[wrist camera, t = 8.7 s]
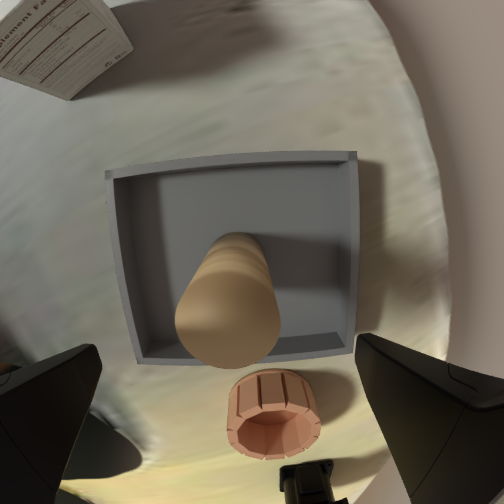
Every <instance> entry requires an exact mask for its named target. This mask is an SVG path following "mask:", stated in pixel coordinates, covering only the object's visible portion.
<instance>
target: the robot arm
mask: <svg viewBox="0 0 504 504" xmlns="http://www.w3.org/2000/svg"><path fill="white" fill-rule="evenodd" d="M355 363H356V366H357V369H358V372H359V375H360V378H361V381H362V385H363V388H364V391H365V394H366V397H367V399H368V402H369V404H370V406H371V408H372V411H373V413H374V415H375V417H376V419H377V422H378V424H379V426H380V429H381V431H382V433H383V435H384V438H385V440H386V442H387V445H388V447H389V449H390V452H391V454H392V456H393V459H394V461H395V463H396V466H397V468H398V471H399V473H400V475H401V478H402V480H403V483H404V485H405V488H406V490H407V493H408V496H409V498H411V499H410V501H411V504H504V379H502V378H498V377H494V376H489V375H485V374H481V373H478V372H475V371H471V370H468V369H465V368H462V367H459V366H456V365H453V364H451V363H448V364H447V362H445V361H442V360H440V359H437V358H434V357H431V356H429V355H426V354H423V353H421V352H418V351H415V350H413V349H410V348H408V347H405V346H402V345H400V344H397V343H394V342H392V341H389V340H387V339H384V338H382V337H379V336H377V335H374V334H371V333H364V334H359V335H358V336H357V341H356V349H355ZM101 372H102V362H101V359H100V356H99V353H98V350H97V348H96V346H95V345H94V344H82V345H80V346H77V347H75V348H72V349H70V350H67V351H65V352H62V353H60V354H57V355H55V356H52V357H50V358H47V359H44V360H42V361H39V362H37V363H34V364H32V365H29V366H26V367H24V368H21V369H19V370H16V371H13V372H12V373H8V374H5V375H3V376H0V504H54V502H55V499H56V496H57V494H56V493H57V492H58V489H59V486H60V483H61V480H62V477H63V474H64V471H65V468H66V466H67V463H68V460H69V457H70V455H71V452H72V449H73V447H74V444H75V441H76V439H77V436H78V434H79V431H80V429H81V426H82V424H83V421H84V419H85V417H86V414H87V412H88V410H89V407H90V405H91V402H92V400H93V397H94V393H95V390H96V387H97V384H98V381H99V378H100V375H101ZM333 465H334V463H333V461H332V460H329V461H324V462H317V463H311V464H303V465H295V466H286V467H281V468H280V491H281V492H284V493H285V502H286V504H349V503H348V500H347V497H346V498H343V499H342V500H338V501H335V499H334V495H333V491H332V487H331V483H330V476H331V473H332V469H333Z"/></svg>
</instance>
